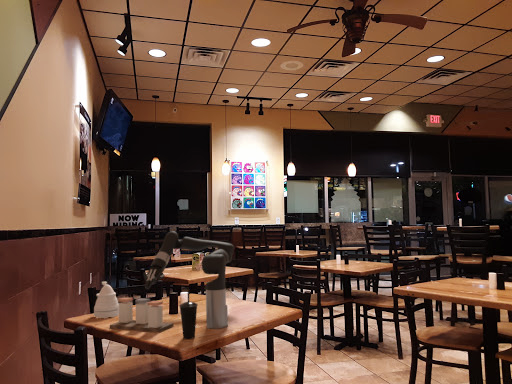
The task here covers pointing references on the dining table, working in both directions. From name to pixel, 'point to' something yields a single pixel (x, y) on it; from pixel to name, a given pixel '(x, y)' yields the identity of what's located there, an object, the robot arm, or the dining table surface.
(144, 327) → the wooden serving board
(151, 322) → the white lidded canister
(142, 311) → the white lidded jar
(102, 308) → the honey pot
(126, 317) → the white spice jar
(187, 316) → the drinking cup
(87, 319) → the dining table surface
